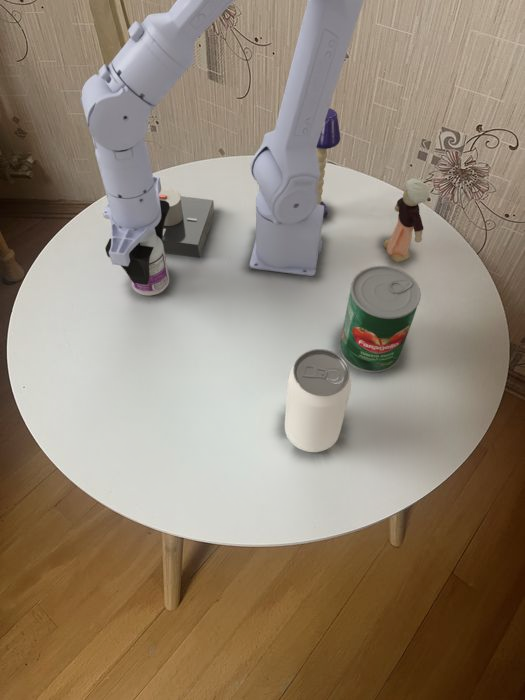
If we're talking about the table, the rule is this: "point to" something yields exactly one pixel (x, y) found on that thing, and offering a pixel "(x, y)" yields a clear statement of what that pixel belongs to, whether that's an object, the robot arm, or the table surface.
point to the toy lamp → (326, 140)
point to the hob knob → (172, 206)
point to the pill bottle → (154, 267)
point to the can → (316, 400)
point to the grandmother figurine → (407, 220)
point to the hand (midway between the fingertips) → (147, 265)
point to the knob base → (189, 228)
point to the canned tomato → (378, 318)
